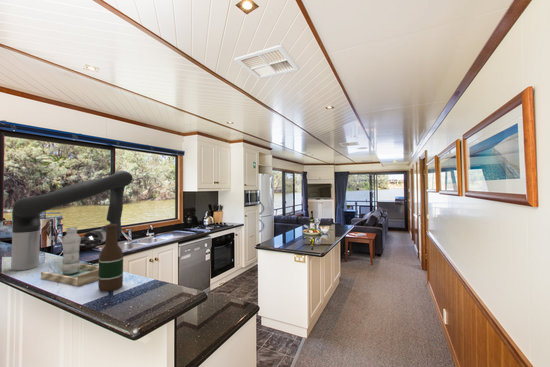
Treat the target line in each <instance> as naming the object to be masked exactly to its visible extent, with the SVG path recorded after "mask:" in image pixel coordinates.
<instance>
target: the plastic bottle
mask: <svg viewBox="0 0 550 367" xmlns="http://www.w3.org/2000/svg"><path fill="white" fill-rule="evenodd" d="M77 232H78V227H77V226H73V227H66V230H65V233H66V234H65V235H64V236H63V237H62V239H61V246H62V253H63V256H62V257H63V258H62V264H61V268H60V270H61V273H63V274H64V275H69V274H74V273H77V272H79V270H80V268H81V264H82V263H81V262H80V246H81V245H80V241H81V238H80V237H81V236H80V235H79V233H77ZM80 263H81V264H80Z"/></svg>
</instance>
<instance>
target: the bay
mask: <svg viewBox="0 0 550 367" xmlns="http://www.w3.org/2000/svg"><path fill="white" fill-rule="evenodd" d="M80 264H81V268H80V270H79V272H77V273H74V274H69V275H64V274H63V273H62V272H60V273H53V272H48V271H41V272H40V279H41V278H42V279H43V280H46V279H47V280H48V281H51V280H52V282H57V283H61V284H66V285H71V286H76V287H80V286H84V285H87V284H90V283H93V282H95V281H98V275H99V265H93V264H92V265H91V264H87V263H81V262H80Z"/></svg>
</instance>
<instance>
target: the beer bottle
mask: <svg viewBox="0 0 550 367" xmlns="http://www.w3.org/2000/svg"><path fill="white" fill-rule="evenodd" d="M105 226H106V228H107V231H106V241H104V242H105V243H104V246H103V248H102V249H101V250H100V253H99V254H98V266H99V275H98V280H97V281H98V284H97V285H98V290H99V292H100V293H101V292H103V293H104V292H105V293H108V292H113V291H116V290H119V289H121V287H123V282H124V281H123V280H124V252H123V250H122V248H121V247H120V245H119V243H118V242H119V241H118V239H117V227H118V226H117V224H113V223H109V224H106V225H105Z"/></svg>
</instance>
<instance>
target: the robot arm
mask: <svg viewBox="0 0 550 367" xmlns="http://www.w3.org/2000/svg"><path fill="white" fill-rule="evenodd" d="M133 179H134V178H133V175H132V173H130V172H128V171H127V170H118V171H116V172H114V173H113V174H111V175H108V176H105V177H101V178H95V179H89V180H88V179H87V180H85V181H80V182H76V183H73V184H70V185H66V186H64V187H61V188H58V189H55V190H54V191H52V192H47V193H44V194H39V195H35V196H30V197H29V196H28V197H27V196H26V197H22V198H19V199H17V200H16V201H15V202H14V204H13V205H12V206H13V207H12V224H11V225H12V228H11V229H12V230H11V231H12V232H11V233H12V234H11V235H12V237H11V271H15V272H18V271H25V270H30V269H34V268H38V267H39V266H40V238H41V237H40V236H41V235H40V234H41V233H40V232H41V231H40V230H41V220H40V219H41V218H40V217H41V215H40V214H41V213H43V212H46V211H48V210H51V209H53V208H56V207H59V206H65V205H68V204H73V203H75V202H76V203H77V202H80V201H83V200H86V199H89V198H92V197H94V196H97V195H100V194H102V193H104V192H107V191H110V193H111V194H110V200H109V205H108V209H107V215H106V221H107V222H110V223H111V224H117V226H118V227H117V240H119V238H120V237H121V236H122V231H123V230H122V215H123V209H124V192H125V189H126V187H128V186H129V185H130V184H131V183H132V182H133ZM106 231H107V228H106V225H103V226H102V227H101V228H99V229H94V230H91V231H88V232H85V233H84V234H83V235H82V236H80V238H81V241H80V246H84V247H85V248H87V247H88V248H93V247H95V246H98V245H101V244H103V243H104V242H106Z"/></svg>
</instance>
